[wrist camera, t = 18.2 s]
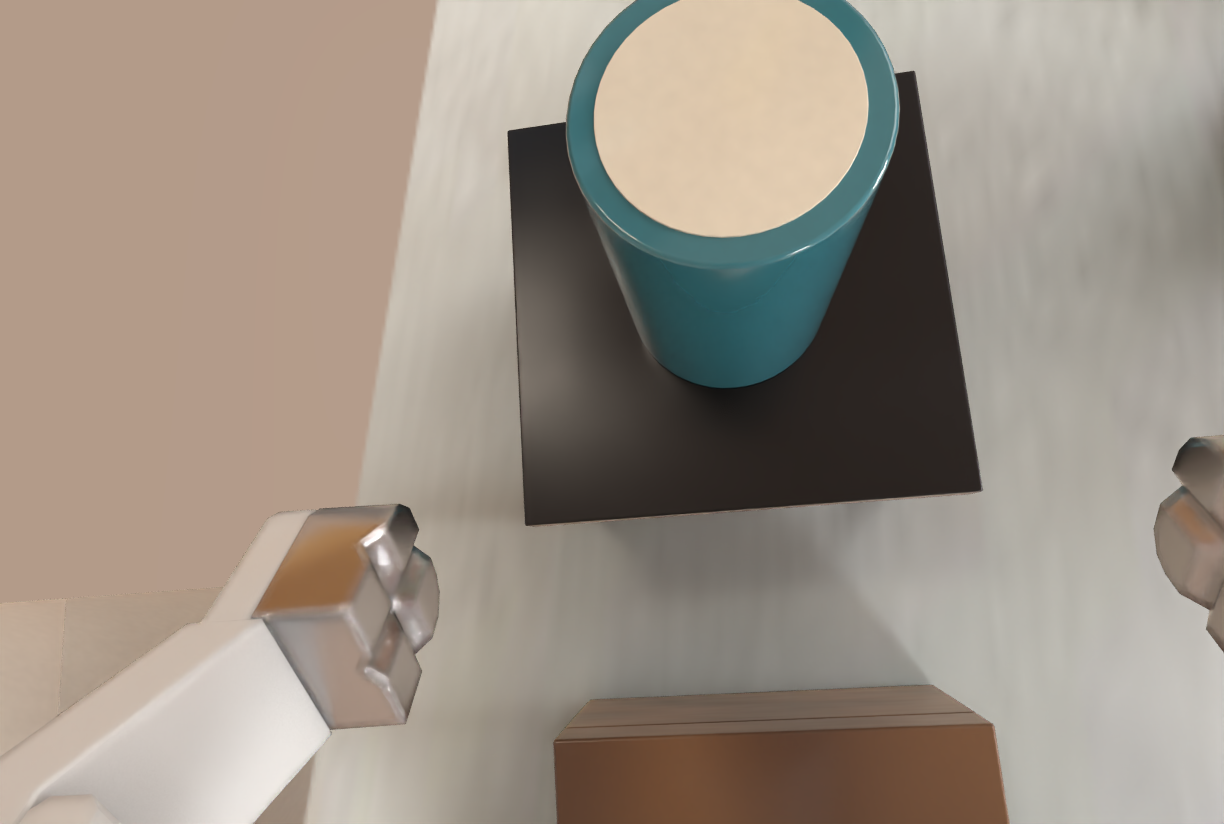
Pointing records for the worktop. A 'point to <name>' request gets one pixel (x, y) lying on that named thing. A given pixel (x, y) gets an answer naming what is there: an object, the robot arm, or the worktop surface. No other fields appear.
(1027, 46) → the worktop surface
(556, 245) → the dark brown wooden table
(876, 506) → the worktop surface
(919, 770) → the brown display stand
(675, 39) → the cup
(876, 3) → the worktop surface
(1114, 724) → the worktop surface
